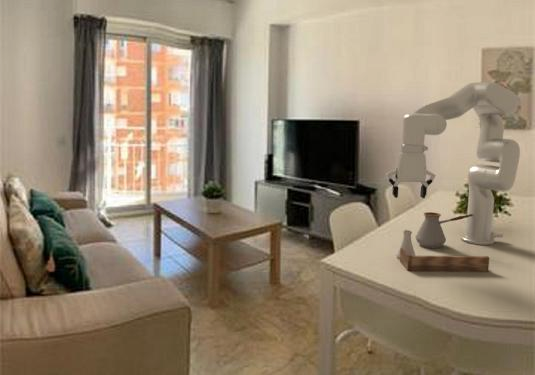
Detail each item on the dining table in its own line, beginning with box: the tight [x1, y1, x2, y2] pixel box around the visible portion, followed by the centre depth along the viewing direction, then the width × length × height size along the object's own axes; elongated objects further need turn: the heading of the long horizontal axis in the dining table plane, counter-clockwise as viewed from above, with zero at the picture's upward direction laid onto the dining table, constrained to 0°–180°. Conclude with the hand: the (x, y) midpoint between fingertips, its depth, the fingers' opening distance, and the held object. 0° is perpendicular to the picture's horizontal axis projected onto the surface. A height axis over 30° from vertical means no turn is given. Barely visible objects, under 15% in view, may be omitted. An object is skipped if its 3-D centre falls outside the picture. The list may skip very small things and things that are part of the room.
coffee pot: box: [415, 211, 475, 249], centre depth 183 cm, size 21×12×15 cm, turn 54°
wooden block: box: [399, 248, 490, 273], centre depth 163 cm, size 27×10×5 cm, turn 90°
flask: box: [395, 229, 417, 259], centre depth 171 cm, size 7×7×10 cm
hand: (409, 197), depth 168 cm, fingers open, 9 cm apart
